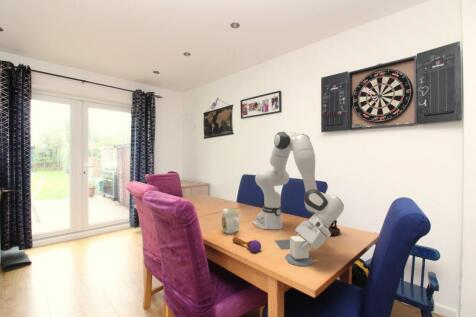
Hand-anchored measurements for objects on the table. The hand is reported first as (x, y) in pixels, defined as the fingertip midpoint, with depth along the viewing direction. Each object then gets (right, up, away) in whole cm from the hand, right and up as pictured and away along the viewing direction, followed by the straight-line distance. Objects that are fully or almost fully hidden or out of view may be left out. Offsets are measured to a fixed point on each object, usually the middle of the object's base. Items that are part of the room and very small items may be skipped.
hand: (297, 246), depth 110 cm
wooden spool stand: (+29, -6, +38) cm, 48 cm away
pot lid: (+1, -6, 0) cm, 6 cm away
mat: (0, -6, +18) cm, 19 cm away
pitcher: (-33, -6, +39) cm, 51 cm away
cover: (+1, -4, 0) cm, 4 cm away
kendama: (-24, -7, +15) cm, 29 cm away
